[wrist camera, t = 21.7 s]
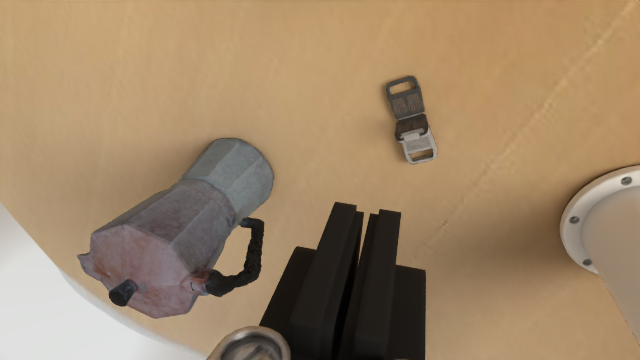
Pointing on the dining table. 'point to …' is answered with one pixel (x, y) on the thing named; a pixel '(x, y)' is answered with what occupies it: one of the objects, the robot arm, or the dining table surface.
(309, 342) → the robot arm
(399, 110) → the strap clip
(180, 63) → the dining table surface
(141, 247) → the moka pot
